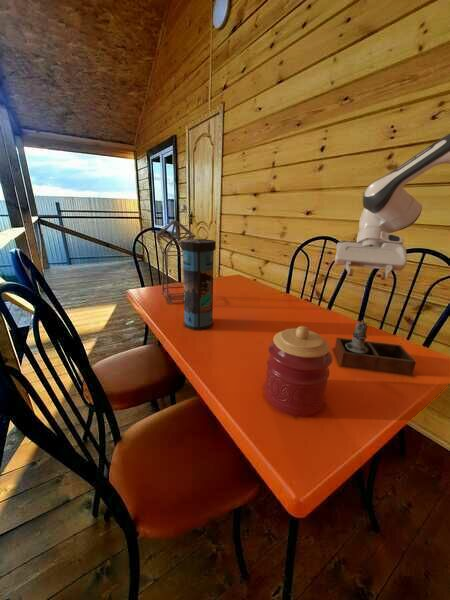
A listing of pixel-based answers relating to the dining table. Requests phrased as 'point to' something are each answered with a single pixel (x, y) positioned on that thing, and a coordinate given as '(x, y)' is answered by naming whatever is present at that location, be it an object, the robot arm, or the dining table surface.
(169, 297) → the geometric lantern
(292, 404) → the kitchen canister
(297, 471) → the dining table surface
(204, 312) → the advertising column
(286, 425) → the dining table surface
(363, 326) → the grey stone statuette
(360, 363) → the holder
